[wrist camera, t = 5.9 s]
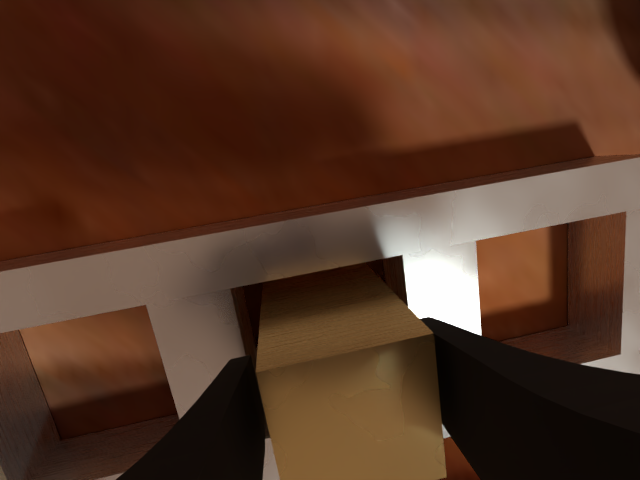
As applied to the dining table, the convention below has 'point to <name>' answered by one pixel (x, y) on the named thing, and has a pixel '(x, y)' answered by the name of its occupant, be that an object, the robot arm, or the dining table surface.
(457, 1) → the dining table surface
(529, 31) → the dining table surface
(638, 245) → the white slotted frame
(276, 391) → the block
